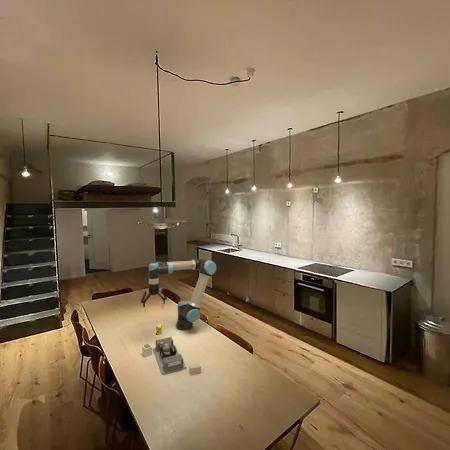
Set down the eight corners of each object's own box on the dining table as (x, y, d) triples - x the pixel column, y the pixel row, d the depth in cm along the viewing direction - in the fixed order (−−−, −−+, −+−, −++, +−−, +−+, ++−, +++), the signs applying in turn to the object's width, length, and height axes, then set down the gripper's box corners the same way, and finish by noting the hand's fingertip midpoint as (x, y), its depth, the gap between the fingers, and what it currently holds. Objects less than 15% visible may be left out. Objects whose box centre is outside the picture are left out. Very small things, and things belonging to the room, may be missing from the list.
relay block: (148, 351, 197) (148, 342, 196) (152, 355, 192) (152, 346, 192) (142, 354, 194) (142, 345, 193) (145, 357, 189) (145, 348, 189)
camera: (179, 360, 183) (179, 346, 183) (164, 365, 178) (164, 350, 177) (171, 350, 197) (171, 337, 196) (158, 354, 191) (157, 340, 191)
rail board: (173, 345, 206) (173, 336, 206) (186, 368, 175) (186, 358, 175) (152, 349, 199) (152, 340, 199) (162, 375, 168) (162, 364, 168)
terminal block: (199, 369, 175) (199, 363, 175) (201, 372, 171) (201, 366, 171) (189, 371, 172) (189, 365, 172) (190, 375, 169) (190, 368, 168)
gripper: (168, 280, 217) (168, 305, 218) (136, 283, 206) (137, 310, 207) (170, 282, 210) (170, 308, 211) (137, 286, 199) (138, 313, 201)
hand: (154, 309), depth 209 cm, fingers open, 13 cm apart
